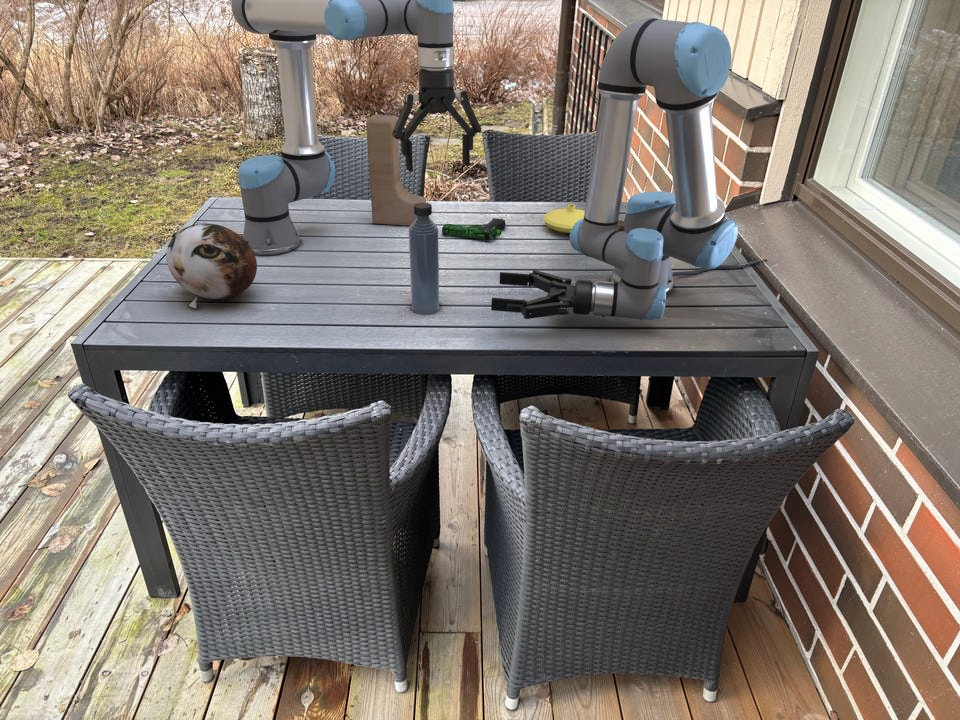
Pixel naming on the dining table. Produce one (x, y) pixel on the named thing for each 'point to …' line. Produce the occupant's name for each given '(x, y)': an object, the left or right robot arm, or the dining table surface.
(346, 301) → the dining table surface
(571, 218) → the yellow lid
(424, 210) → the cap
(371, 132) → the decorative block
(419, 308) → the bottle
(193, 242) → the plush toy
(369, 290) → the dining table surface
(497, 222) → the handgun
